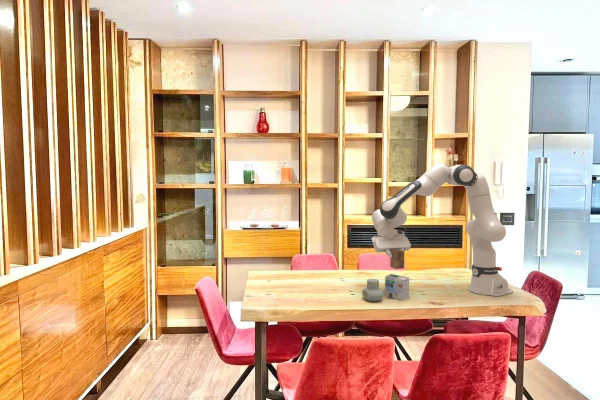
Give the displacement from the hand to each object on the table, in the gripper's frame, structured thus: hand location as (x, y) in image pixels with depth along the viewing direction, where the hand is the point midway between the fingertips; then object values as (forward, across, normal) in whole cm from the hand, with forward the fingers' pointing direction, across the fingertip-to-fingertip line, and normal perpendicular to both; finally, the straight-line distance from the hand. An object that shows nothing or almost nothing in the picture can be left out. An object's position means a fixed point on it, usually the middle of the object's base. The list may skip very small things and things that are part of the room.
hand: (397, 257), depth 191 cm
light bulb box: (+15, 0, +15) cm, 21 cm away
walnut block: (+4, 0, +4) cm, 5 cm away
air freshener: (+15, -14, +15) cm, 25 cm away
